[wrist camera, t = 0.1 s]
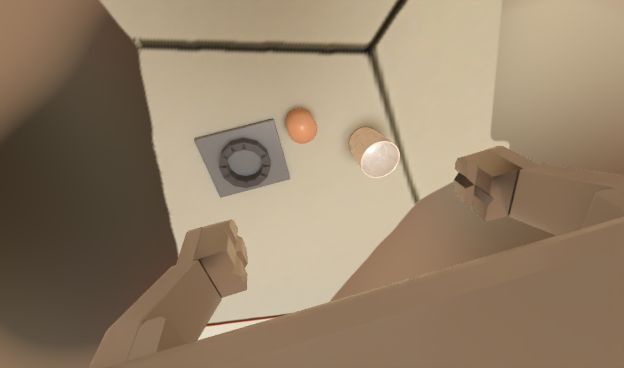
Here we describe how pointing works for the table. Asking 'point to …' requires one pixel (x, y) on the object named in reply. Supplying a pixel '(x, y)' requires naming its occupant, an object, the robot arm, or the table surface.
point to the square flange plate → (244, 157)
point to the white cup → (374, 152)
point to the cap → (301, 126)
